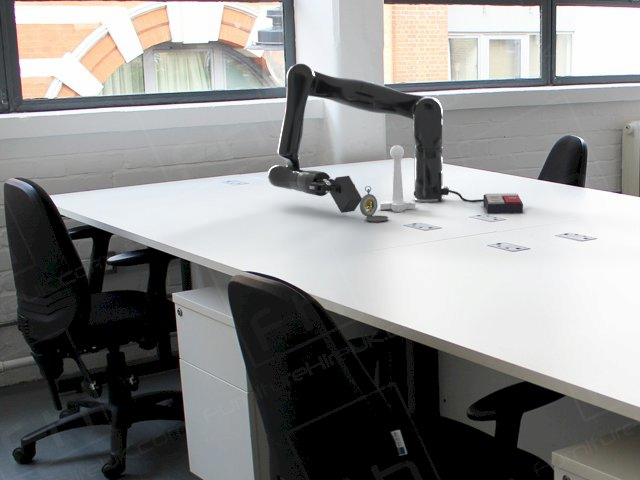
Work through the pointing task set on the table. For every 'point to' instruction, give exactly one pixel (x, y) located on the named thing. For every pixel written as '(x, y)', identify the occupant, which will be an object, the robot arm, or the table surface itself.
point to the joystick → (397, 184)
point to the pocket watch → (371, 210)
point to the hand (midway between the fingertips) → (346, 188)
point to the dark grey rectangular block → (346, 194)
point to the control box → (503, 203)
